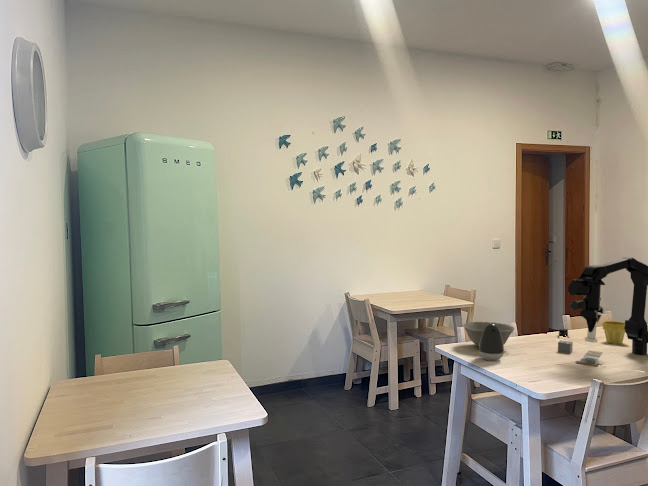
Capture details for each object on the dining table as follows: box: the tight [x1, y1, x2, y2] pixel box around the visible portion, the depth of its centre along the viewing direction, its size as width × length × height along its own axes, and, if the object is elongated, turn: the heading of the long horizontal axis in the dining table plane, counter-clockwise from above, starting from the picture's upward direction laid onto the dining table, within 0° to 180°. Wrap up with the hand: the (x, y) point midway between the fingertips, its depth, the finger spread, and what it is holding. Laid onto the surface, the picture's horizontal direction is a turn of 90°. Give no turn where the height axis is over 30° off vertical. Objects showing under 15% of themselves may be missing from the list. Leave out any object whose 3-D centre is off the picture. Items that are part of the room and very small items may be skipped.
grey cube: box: [557, 339, 573, 354], centre depth 224 cm, size 5×5×5 cm
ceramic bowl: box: [463, 321, 515, 348], centre depth 233 cm, size 22×23×10 cm
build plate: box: [558, 328, 569, 337], centre depth 257 cm, size 12×7×5 cm, turn 135°
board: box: [575, 349, 604, 367], centre depth 215 cm, size 26×8×1 cm, turn 144°
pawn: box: [584, 321, 599, 344], centre depth 215 cm, size 5×5×10 cm
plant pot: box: [602, 320, 626, 345], centre depth 245 cm, size 10×10×10 cm
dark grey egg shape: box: [478, 324, 505, 362], centre depth 212 cm, size 10×10×15 cm
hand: (591, 331), depth 215 cm, fingers closed on pawn, 3 cm apart
